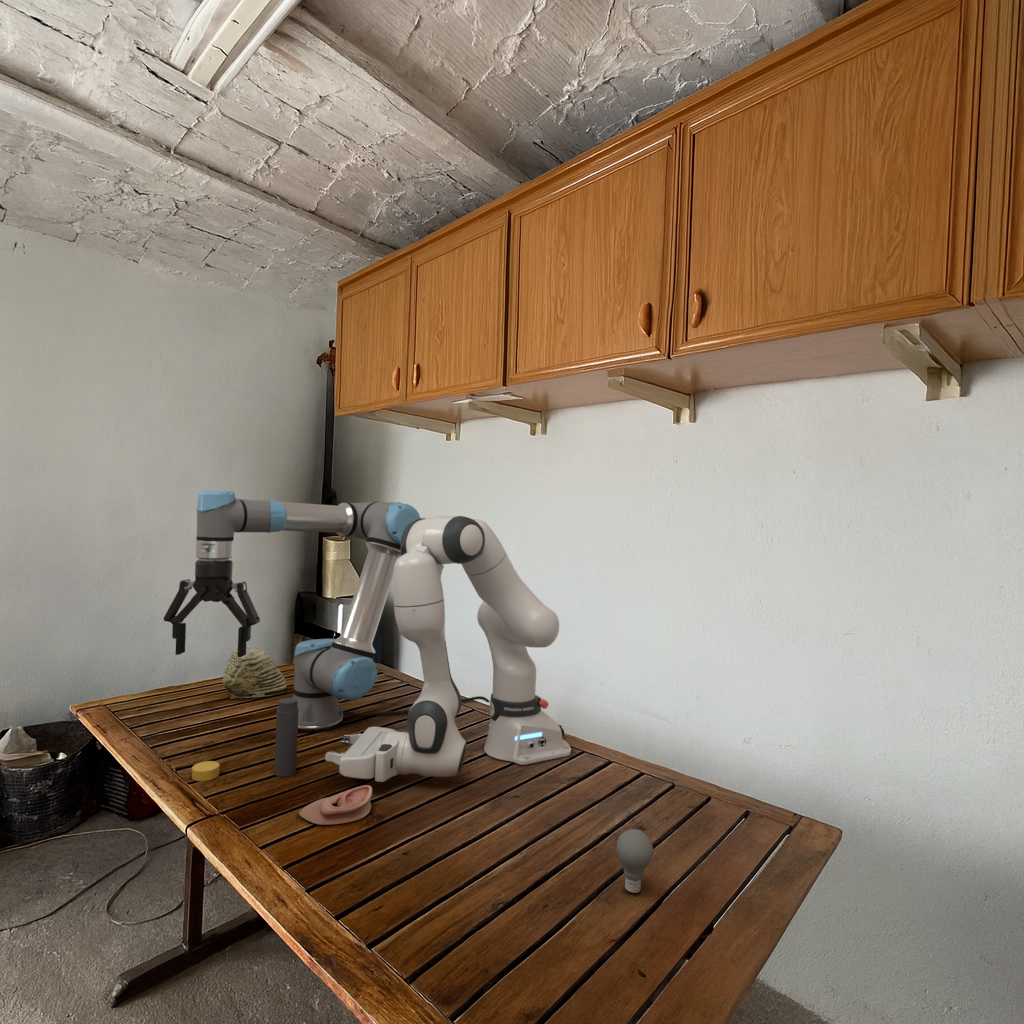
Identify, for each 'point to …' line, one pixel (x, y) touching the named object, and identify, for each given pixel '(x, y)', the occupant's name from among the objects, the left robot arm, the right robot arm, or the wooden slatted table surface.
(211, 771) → the lid
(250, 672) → the fossil
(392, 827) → the wooden slatted table surface
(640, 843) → the light bulb
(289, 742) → the jar
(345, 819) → the anatomical model
